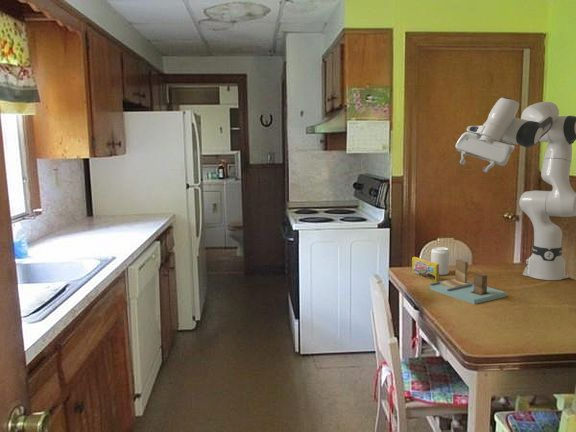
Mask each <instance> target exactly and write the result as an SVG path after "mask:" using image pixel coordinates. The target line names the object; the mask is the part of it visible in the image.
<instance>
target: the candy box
mask: <svg viewBox="0 0 576 432" xmlns="http://www.w3.org/2000/svg"><path fill="white" fill-rule="evenodd" d="M411 268H412V269H411V274H412V275H414V274H415V275H414V276H417V275H418V276H417V277H421V278H424V279H426V280H429V281H433V282H434V283H435V282H440V275H439V264H438V263H434V262H431V260H426V259H424V258H420V257H417V256H413V257H412V259H411Z"/></svg>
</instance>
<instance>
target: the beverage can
mask: <svg viewBox="0 0 576 432" xmlns="http://www.w3.org/2000/svg"><path fill="white" fill-rule="evenodd" d="M430 252H431V253H430V261H431V262H434V263H438V264H439V276H446V275H449V273H450V272H449V271H450V269H449V267H450V251H449V248H448V247H443V246H437V247H436V246H435V247H432V249H431V251H430Z"/></svg>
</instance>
